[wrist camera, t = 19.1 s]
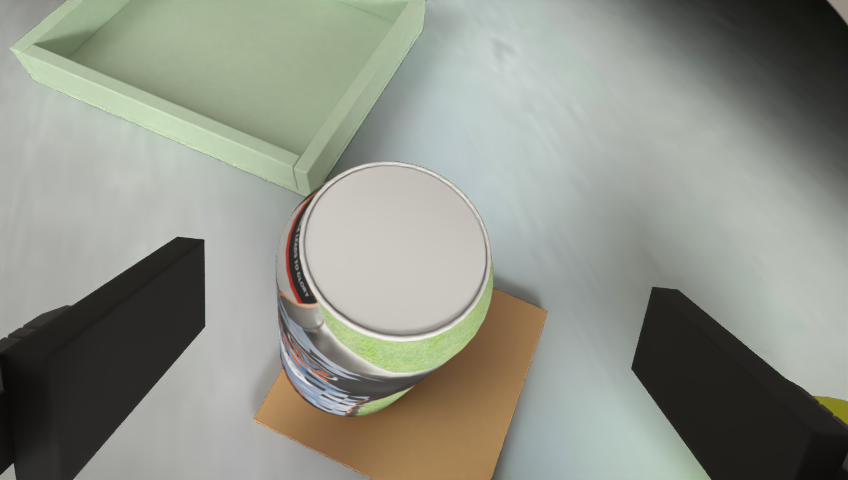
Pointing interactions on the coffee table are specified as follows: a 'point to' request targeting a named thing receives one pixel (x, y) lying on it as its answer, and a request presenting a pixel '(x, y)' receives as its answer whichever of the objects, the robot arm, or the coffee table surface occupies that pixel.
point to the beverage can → (378, 285)
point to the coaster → (428, 408)
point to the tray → (231, 72)
